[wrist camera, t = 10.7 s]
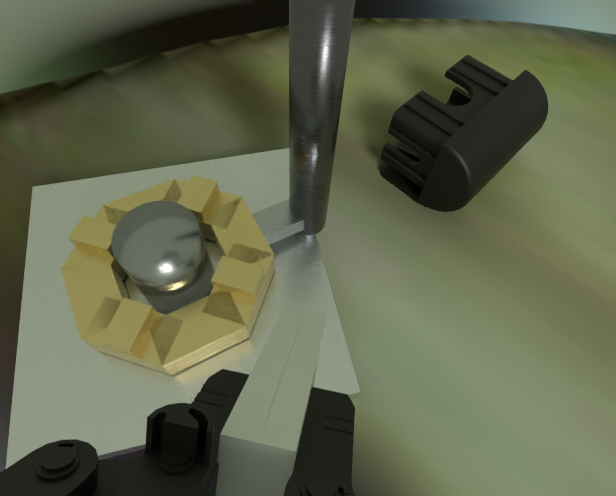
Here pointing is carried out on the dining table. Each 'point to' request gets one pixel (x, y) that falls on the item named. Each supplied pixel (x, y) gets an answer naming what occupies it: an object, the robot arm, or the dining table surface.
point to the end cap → (462, 135)
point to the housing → (151, 291)
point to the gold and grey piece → (222, 220)
